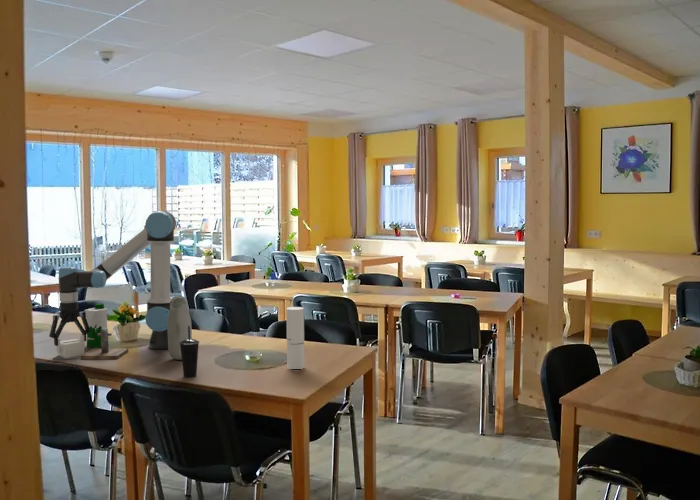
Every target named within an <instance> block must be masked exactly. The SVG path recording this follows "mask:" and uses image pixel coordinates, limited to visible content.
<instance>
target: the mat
mask: <svg viewBox="0 0 700 500" xmlns="http://www.w3.org/2000/svg"><path fill="white" fill-rule="evenodd" d="M87 352H88V351H84V354H85V353H87ZM81 356H82V355H81ZM81 356H75V357H69V358H64V357H61V356H59V355H58V354H57V355H56V356H54V357H53V358H52V359H53V360H79V359H81Z"/></svg>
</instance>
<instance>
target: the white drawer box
mask: <svg viewBox="0 0 700 500" xmlns="http://www.w3.org/2000/svg"><path fill="white" fill-rule="evenodd" d="M84 343H85V341H84V342H83V341H80V339H78V338H74V339H69V340H68V339H67V340H60V346H61V353H57V356H58V355H59V356H61V357H64V358H69V357H75V356H81V355H83V354H84V352H85V349H84Z"/></svg>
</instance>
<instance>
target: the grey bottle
mask: <svg viewBox="0 0 700 500" xmlns="http://www.w3.org/2000/svg"><path fill="white" fill-rule="evenodd" d="M171 298H172V300H171V302H170V312H169V317H168V324H167V330H168V349H167V350H168V353H169V355H170V357H171V358H173V359H174V360H177V361H180V360H181V361H182V356H181V348H180V344H179V342H181V341H183V340H185V339H188V326H190V339H193V338H192V335H193V334H192V332H193V331H192V318H191V315H190V311H189V303H188V300H187V298H186V297H185V296H182V295H176V296H174V297H171Z"/></svg>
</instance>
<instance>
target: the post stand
mask: <svg viewBox="0 0 700 500" xmlns="http://www.w3.org/2000/svg"><path fill="white" fill-rule="evenodd" d="M112 335H113V333H112V332H110V333H109V328H108V327H107V328H104V329H101V333H98V334H97V336H101V347H100V348H91V350H89V351H86V352H87V353H85V354H83V355H82V356H81V358H80V360H119V358H121V357H123V356H124V355H125V354H127V353H128V352H129V348H126V347H124V348H123V347H122V348H109V347H110V346H109V345H108V344H109V337H111V336H112Z"/></svg>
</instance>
